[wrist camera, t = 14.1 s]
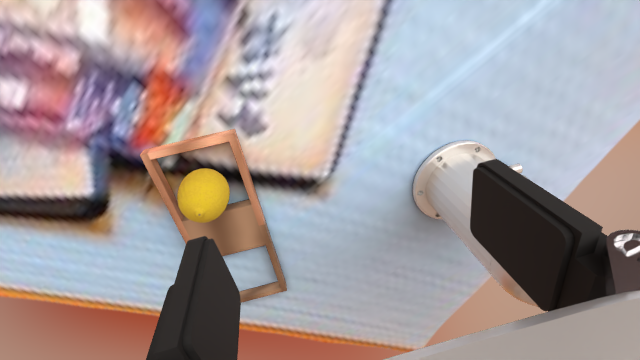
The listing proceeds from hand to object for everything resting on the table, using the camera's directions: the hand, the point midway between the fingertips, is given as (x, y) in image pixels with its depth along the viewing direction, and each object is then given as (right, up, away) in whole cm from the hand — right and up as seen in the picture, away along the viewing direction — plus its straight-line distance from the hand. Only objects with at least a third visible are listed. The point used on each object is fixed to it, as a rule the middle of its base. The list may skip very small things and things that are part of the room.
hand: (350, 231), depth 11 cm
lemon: (-15, +2, +28) cm, 32 cm away
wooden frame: (-14, -5, +32) cm, 36 cm away
